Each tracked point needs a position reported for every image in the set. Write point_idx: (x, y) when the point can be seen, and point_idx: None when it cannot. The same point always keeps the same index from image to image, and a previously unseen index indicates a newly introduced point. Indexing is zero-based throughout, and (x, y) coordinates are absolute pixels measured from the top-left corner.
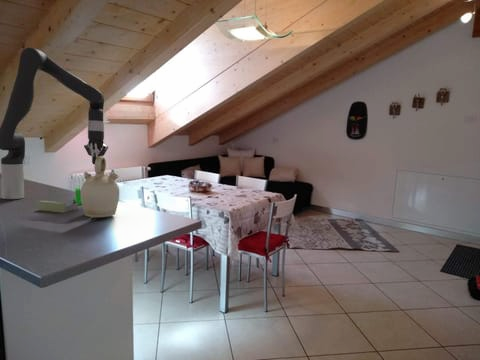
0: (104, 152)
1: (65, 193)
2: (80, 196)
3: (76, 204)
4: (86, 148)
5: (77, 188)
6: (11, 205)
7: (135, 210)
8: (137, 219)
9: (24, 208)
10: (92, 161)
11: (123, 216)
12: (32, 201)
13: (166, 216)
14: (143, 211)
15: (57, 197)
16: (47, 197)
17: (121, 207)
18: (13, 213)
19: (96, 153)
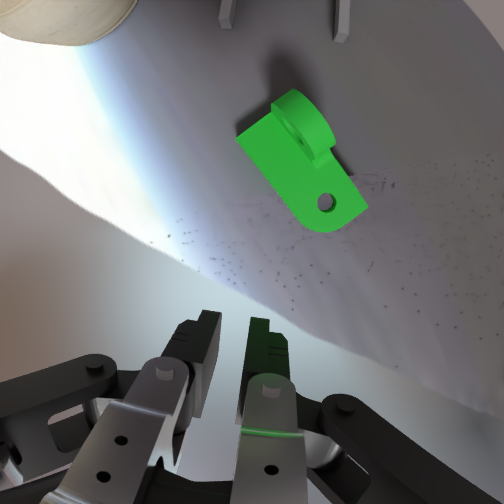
0: (50, 430)
1: (470, 359)
2: (271, 105)
3: (220, 14)
4: (441, 492)
5: (305, 111)
6: (493, 55)
7: (24, 113)
8: None
9: (420, 4)
10: (281, 346)
11: None
12: (496, 144)
13: None
14: (4, 114)
15: (468, 265)
16: (497, 251)
17: (77, 135)
18: None
19: (160, 403)
